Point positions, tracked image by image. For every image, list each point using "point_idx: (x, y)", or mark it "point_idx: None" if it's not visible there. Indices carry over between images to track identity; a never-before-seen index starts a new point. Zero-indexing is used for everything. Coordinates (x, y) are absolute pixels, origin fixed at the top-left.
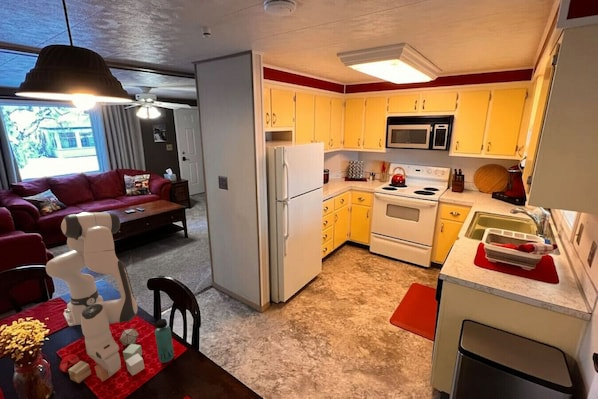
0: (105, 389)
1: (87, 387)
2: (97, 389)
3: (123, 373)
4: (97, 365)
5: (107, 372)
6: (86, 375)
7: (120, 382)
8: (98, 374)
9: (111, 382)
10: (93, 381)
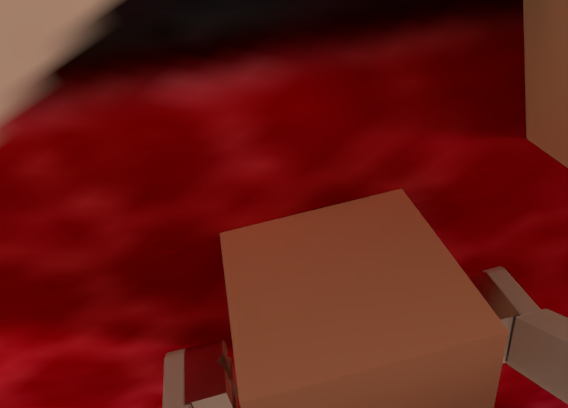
0: (11, 235)
1: (278, 32)
2: (97, 149)
3: None
4: (481, 366)
5: (208, 399)
6: (545, 87)
7: (31, 374)
8: (351, 252)
9: (111, 304)
10: (336, 134)
